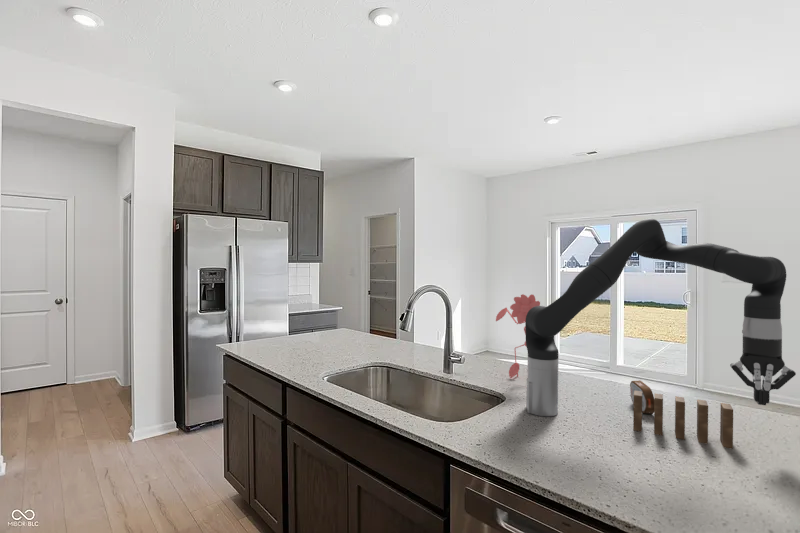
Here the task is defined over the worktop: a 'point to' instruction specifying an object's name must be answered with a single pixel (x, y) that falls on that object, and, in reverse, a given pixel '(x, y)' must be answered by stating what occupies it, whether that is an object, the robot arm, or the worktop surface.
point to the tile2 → (658, 414)
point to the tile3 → (680, 417)
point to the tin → (643, 396)
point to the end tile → (726, 425)
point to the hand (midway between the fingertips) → (761, 404)
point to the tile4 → (702, 421)
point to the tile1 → (637, 411)
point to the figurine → (519, 319)
